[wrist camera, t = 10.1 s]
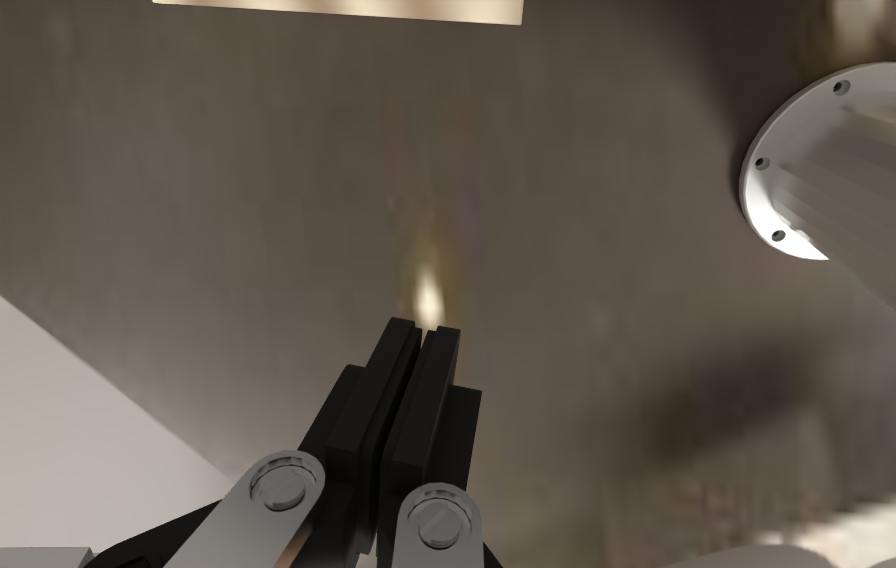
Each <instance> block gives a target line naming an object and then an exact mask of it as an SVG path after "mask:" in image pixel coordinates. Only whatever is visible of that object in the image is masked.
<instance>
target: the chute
mask: <svg viewBox="0 0 896 568" xmlns="http://www.w3.org/2000/svg"><path fill="white" fill-rule="evenodd" d="M523 2H524V0H153V3H168V4H184V5H201V6H217V7H234V8H250V9H266V10H283V11H299V12H316V13H332V14H348V15H365V16H381V17H397V18H414V19H430V20H447V21H463V22H479V23H496V24H512V25H521V19H522V11H523Z"/></svg>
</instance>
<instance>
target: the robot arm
mask: <svg viewBox="0 0 896 568" xmlns="http://www.w3.org/2000/svg"><path fill="white" fill-rule="evenodd" d="M836 83H837V84H838V85H837V87H836V89H834V86H835V85H836ZM833 89H834V90H833ZM759 158H761V159H760V162H759V163H757V164H755V163H756V161H757V160H758V159H759ZM739 199H740V204H741V208H742V212H743V214H744V216H745V218H746V220H747V222H748V223H749V225H750V227H751V228H752V229H753V230H754V231H755V232H756V233H757V234H758V235H759V237H760V238H762V239H763V240H764V241H765V242H766V243H767V244H769V245H770V246H772V247H774V248H775V249H777V250H779V251H781V252H783V253H785V254H788V255H792V256H795V257H799V258H803V259H812V260H830V261H832V262H833V263H834V264H836V265H837V266H838V267H839V268H841V269H842V270H843V271H845V272H846V273H847V274H848V275H850V276H851V277H852V278H854V279H855V280H856V281H857V282H859V283H860V284H861V285H863V286H864V287H865V288H866V289H868V290H869V291H870V292H872V293H873V294H874V295H875V296H877V297H878V298H879V299H881V300H882V301H883V302H884V303H886V304H887V305H888V306H890V307H891V308H892V309H893V310H895V311H896V62H887V61H883V62H874V63H866V64H860V65H856V66H853V67H849V68H846V69H842V70H839V71H836V72H834V73H832V74H830V75H828V76H825V77H823V78H821V79H819V80H817V81H815V82H813V83H811V84H810V85H808V86H807V87H805V88H804V89H802V90H801V91H799V92H798V93H796V94H795V95H793V96H792V97H791V98H790V99H789V100H787V101H786V102H785V103H784V104H783V105H782V106H781V107H779V108H778V109H777V110H776V111H775V112H774V113H773V115H772V116H771V117H770V118H769V119H768V120H767V121H766V123H765V124H764V125H763V126H762V127H761V129H760V130H759V132H758V134H757V135H756V137H755V138H754V140H753V142H752V143H751V145H750V147H749V149H748V152H747V154H746V156H745V159H744V161H743V164H742V169H741V174H740V178H739ZM775 231H776V232H775ZM774 232H775V233H774ZM460 334H461V330H459V329H454V328H448V327H443V326H438V328H437V330H436V331H431V330H428V332H427V335H426V337H425V340H424V343H423V345H422V348H421V340H422V329H421V328H416V327H415V322H414V321H411V320H406V319H401V318H395V317H392V318H391V319H390V321H389V322H388V324H387V326H386V328H385V330H384V332H383V334H382V336H381V338H380V340H379V342H378V344H377V346H376V348H375V350H374V351H373V353H372V355H371V357H370V359H369V361H368V363H367V365H366V367H360V366H355V365H350V364H349V365H347V366H346V367H345V368H344V370H343V371H342V373H341V375H340V377H339V378H338V380H337V382H336V384H335V385H334V387H333V389H332V391H331V392H330V394H329V396H328V397H327V399H326V401H325V403H324V404H323V406H322V408H321V410H320V411H319V413H318V415H317V417H316V418H315V420H314V422H313V424H312V425H311V427H310V429H309V430H308V432H307V434H306V436H305V437H304V439H303V441H302V443H301V444H300V446H299V448H298V450H284V451H279V452H276V453H272V454H269V455H268V456H266V457H264V458H262V459H260V460H258V461H257V462H256V463H255V464H254V465H253V466H252V467H251V468H249V469H248V471H247V472H246V473H245V474H244V475H243V476H242V477H241V479H240V480H239V481H238V482H237V483H236V484H235V486H234V487H233V488H232V489H231V490H230V492H229V493H228V494H227V495H226V496H225V497H224V498H223V499H221V500H219V501H216V502H214V503H212V504H209V505H207V506H205V507H203V508H200V509H198V510H195V511H193V512H191V513H188V514H186V515H184V516H181V517H179V518H177V519H174V520H172V521H170V522H167V523H165V524H163V525H160V526H158V527H155V528H153V529H151V530H149V531H146V532H144V533H141V534H139V535H137V536H134V537H132V538H130V539H127V540H125V541H123V542H120V543H118V544H116V545H114V546H112V547H110V548H108V549H106V550H105V551H103V552H101V553H92V551H91V549H90V547H24V548H22V547H20V548H0V568H355V567H356V564H357V561H358V558H359V555H360V553H363V554H367V555H369V553H370V551H371V548H372V545H373V542H374V539H375V536H376V533H377V546H376V557H377V568H503V567H502V566H501V564H500V563H499V562H498V560H497V559H496V558H495V556H494V555H493V554H492V552H491V551H490V550H489V548H488V547H487V546H486V544H485V543H484V542H483V530H482V519H481V514H480V510H479V508H478V507H477V505H476V503H475V501H474V500H473V499H472V498H471V497H470V496H469V495H468V494H467V493H466V486H467V480H468V474H469V468H470V462H471V456H472V450H473V444H474V438H475V431H476V425H477V419H478V413H479V407H480V401H481V395H482V391H480V390H475V389H470V388H465V387H460V386H455V385H453V383H454V376H455V369H456V362H457V355H458V348H459V341H460ZM420 350H421V351H420Z"/></svg>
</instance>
